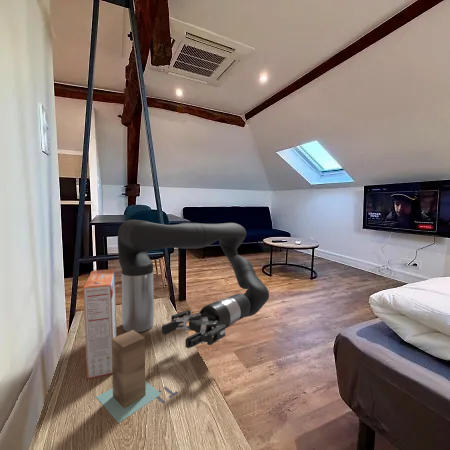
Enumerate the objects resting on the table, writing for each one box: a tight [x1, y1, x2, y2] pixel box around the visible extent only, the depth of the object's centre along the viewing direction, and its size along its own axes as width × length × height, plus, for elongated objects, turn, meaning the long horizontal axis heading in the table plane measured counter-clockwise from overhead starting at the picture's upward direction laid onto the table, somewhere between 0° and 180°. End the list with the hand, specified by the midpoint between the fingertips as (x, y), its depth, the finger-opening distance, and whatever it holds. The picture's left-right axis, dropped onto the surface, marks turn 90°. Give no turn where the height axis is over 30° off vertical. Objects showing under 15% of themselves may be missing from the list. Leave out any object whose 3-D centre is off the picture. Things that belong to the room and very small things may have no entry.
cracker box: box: [82, 268, 118, 380], centre depth 62 cm, size 14×6×21 cm, turn 21°
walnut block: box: [111, 330, 146, 408], centre depth 50 cm, size 4×4×12 cm
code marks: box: [156, 386, 179, 404], centre depth 51 cm, size 3×4×1 cm
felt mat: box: [96, 380, 162, 424], centre depth 51 cm, size 9×9×1 cm
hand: (173, 336), depth 58 cm, fingers open, 8 cm apart
